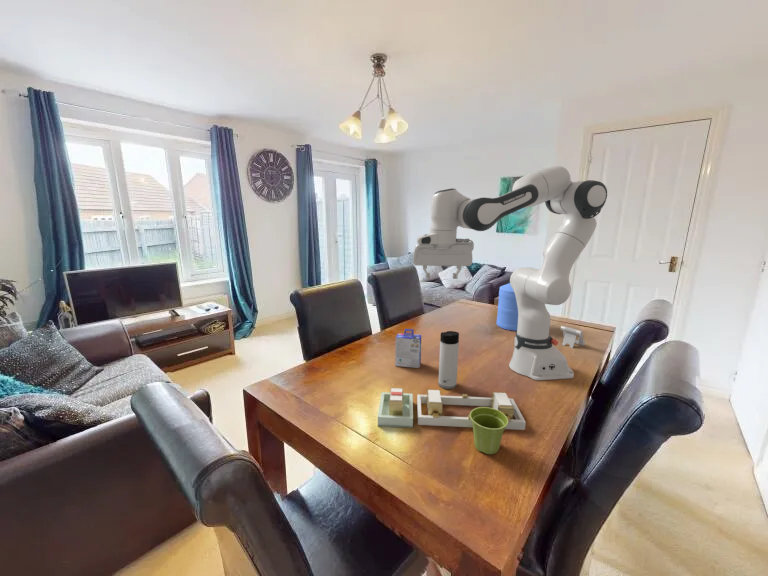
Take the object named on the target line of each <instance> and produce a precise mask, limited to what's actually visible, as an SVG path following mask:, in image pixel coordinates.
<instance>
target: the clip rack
mask: <svg viewBox="0 0 768 576" xmlns="http://www.w3.org/2000/svg"><path fill="white" fill-rule="evenodd" d="M416 396H417V397H416V405H417V406H416V408H417V409H416V410H417V413H416V414H417V425H418V426H436V427H437V426H438V427H441V426H442V427H454V428H455V427H457V428H458V427H459V428H473V424H472V421H471V419H470V414H467V416H452V415H451V416H447V415H446V416H445V415H442V416H439V415H438V413H433V416H430V415H428V414H427V415H424V414H422V404H425V405H427V394H417V395H416ZM440 396H441V402H442V405H450V406H453V405H454V406H469V407H470V406H473V407H489V408H491V402H492V397H485V396H484V397H483V396H482V397H481V396H469V395H468V394H465V393H461V395H459V396H458V395H457V396H456V395H440ZM508 398H509V397H508ZM509 400H510V402H511V404H512V406H513V408H514V411H513V417H514V418H515V419H514V418H513V419H510V417H508V416H506V417H507V418H508V425H507V426H506V427H505V430H515V431H516V430H517V431H519V430H520V431H524V430H526V420H525V418H524V416H523V414H522V413H521V411H520V409H519V408H518V405H517V403H516V402H515V400H514V398H509Z"/></svg>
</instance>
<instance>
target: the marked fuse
mask: <svg viewBox="0 0 768 576" xmlns="http://www.w3.org/2000/svg"><path fill="white" fill-rule="evenodd" d="M389 391H390V392H389V393H390V400H389V415H391V416H403V393H404V387H390V390H389Z"/></svg>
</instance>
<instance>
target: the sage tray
mask: <svg viewBox="0 0 768 576" xmlns="http://www.w3.org/2000/svg"><path fill="white" fill-rule="evenodd" d="M413 396H414V394H413V393H407V392H403V416H391V415H389V400H390V392H386V391H385V392H380V399H379V400H380V401H379V405H378V406H379V408H378V412H377V413H378V414H377V427H384V428H385V427H389V428H404V429H405V428H406V429H407V428H409V429H412V428H414V427H413V426H414V425H413V424H414V410H413V409H414V404H413V403H414V401H413Z"/></svg>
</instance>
